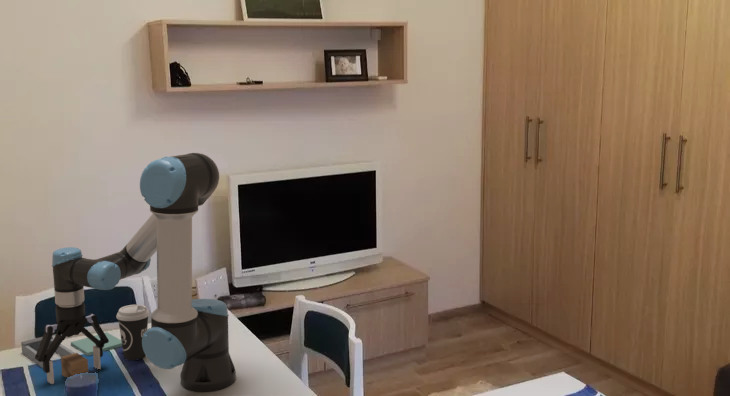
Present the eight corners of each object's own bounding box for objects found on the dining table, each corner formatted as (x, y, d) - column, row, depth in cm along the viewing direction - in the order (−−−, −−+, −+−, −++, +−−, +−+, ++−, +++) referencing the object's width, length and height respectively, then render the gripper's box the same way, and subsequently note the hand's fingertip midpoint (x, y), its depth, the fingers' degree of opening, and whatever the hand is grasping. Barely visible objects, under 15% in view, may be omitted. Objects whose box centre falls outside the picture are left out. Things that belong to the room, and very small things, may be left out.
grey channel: (78, 364, 207) (77, 352, 206) (49, 372, 201) (48, 361, 200) (50, 345, 221) (49, 334, 220) (22, 353, 215) (21, 342, 214)
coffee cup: (141, 363, 208) (139, 315, 205) (112, 360, 210) (109, 312, 207) (157, 351, 217) (155, 304, 215) (128, 348, 219) (126, 302, 216)
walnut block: (88, 378, 198) (87, 359, 197) (73, 382, 195) (71, 364, 194) (77, 370, 203) (76, 352, 202) (62, 375, 200) (60, 357, 199)
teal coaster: (125, 345, 222) (124, 342, 222) (88, 355, 213) (87, 352, 213) (107, 335, 230) (106, 332, 230) (70, 345, 221) (70, 342, 221)
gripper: (106, 290, 207) (109, 358, 211) (18, 310, 189) (24, 384, 193) (118, 296, 202) (122, 366, 206) (29, 317, 184) (35, 393, 188)
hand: (74, 375), depth 199 cm, fingers open, 13 cm apart
